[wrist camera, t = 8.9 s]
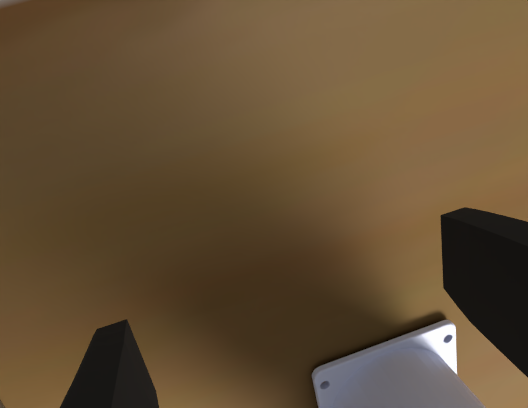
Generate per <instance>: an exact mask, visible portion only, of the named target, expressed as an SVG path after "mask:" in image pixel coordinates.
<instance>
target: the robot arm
mask: <svg viewBox="0 0 528 408" xmlns="http://www.w3.org/2000/svg"><path fill="white" fill-rule="evenodd" d="M441 236H442V262H443V287H444V289H445V290H446V292H447V293H448V294H449V296H450V297H451V298H452V300H453V301H454V302H455V304H456V305H457V306H458V308H459V309H460V310H461V311H462V312H463V314H464V315H465V316H466V317H467V318H468V320H469V321H470V322H471V323H472V324H473V325H474V326H475V327H476V328H477V329H478V330H479V331H480V332H481V333H482V334H483V335H484V336H485V337H486V338H487V339H488V340H489V341H490V342H491V343H492V344H493V345H494V346H495V347H496V348H497V349H499V350H500V351H501V352H502V353H503V354H504V355H505V356H506V357H507V358H508V359H509V360H510V361H511V362H512V363H513V364H514V365H515V366H516V367H517V368H518V369H519V370H521V371H522V372H523V373H524V374H525V375H526V376H527V377H528V222H526V221H522V220H518V219H514V218H511V217H507V216H503V215H499V214H494V213H490V212H486V211H481V210H476V209H471V208H461V209H458V210H455V211H452V212H449V213H446V214H443V215H441ZM312 380H313V385H314V390H315V394H316V399H317V404H318V408H486V407H485V406H484V405H483V404H482V403H481V402H480V400H479V399H478V398H477V397H476V396H475V395H474V394H473V392H472V391H471V390H470V389H469V388H468V387H467V386H466V385H465V383H464V382H463V381H462V380H461V379H460V378H459V377H458V376H457V360H456V327H455V325H454V324H453V323H452V322H451V321H450V320H443V321H440V322H437V323H435V324H432V325H429V326H427V327H424V328H421V329H419V330H416V331H413V332H410V333H408V334H405V335H402V336H400V337H397V338H394V339H391V340H389V341H386V342H383V343H381V344H378V345H375V346H373V347H370V348H367V349H364V350H362V351H359V352H356V353H354V354H351V355H348V356H346V357H343V358H340V359H337V360H335V361H332V362H329V363H327V364H324V365H321V366H319V367H317V368H316V369H315V370H314V371H313V373H312ZM324 381H326V382H325V383H323V382H324ZM321 383H323V384H321ZM60 408H159V405H158V400H157V394H156V390H155V388H154V385H153V383H152V380H151V378H150V375H149V373H148V370H147V368H146V365H145V363H144V360H143V358H142V355H141V353H140V350H139V348H138V345H137V343H136V340H135V338H134V336H133V333H132V331H131V328H130V326H129V323H128V321H127V319H126V320H123V321H120V322H117V323H114V324H111V325H108V326H105V327H102V328H99V329H97V330H96V332H95V334H94V335H93V338H92V340H91V342H90V344H89V347H88V349H87V351H86V354H85V356H84V358H83V360H82V363H81V365H80V367H79V369H78V371H77V374H76V376H75V378H74V380H73V382H72V384H71V386H70V388H69V390H68V392H67V394H66V396H65V398H64V400H63V402H62V404H61V406H60Z"/></svg>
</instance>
